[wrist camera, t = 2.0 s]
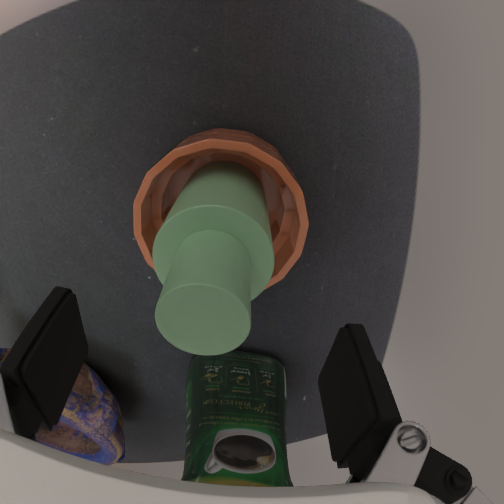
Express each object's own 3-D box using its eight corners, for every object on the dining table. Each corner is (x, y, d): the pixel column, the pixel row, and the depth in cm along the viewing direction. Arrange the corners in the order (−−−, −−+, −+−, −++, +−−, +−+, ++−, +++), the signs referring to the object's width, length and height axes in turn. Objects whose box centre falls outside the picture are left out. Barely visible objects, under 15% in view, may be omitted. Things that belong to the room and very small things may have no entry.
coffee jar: (186, 385, 32) (166, 546, 16) (193, 337, 28) (165, 538, 12) (272, 397, 33) (281, 552, 17) (294, 352, 29) (318, 542, 13)
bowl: (132, 427, 38) (119, 486, 29) (23, 383, 34) (-1, 435, 26) (146, 354, 30) (123, 439, 21) (2, 296, 26) (-44, 358, 17)
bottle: (186, 156, 20) (118, 243, 9) (271, 166, 20) (299, 265, 10) (180, 233, 22) (133, 362, 12) (258, 242, 23) (267, 379, 12)
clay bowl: (159, 121, 19) (134, 132, 15) (307, 139, 20) (325, 155, 15) (154, 250, 24) (136, 289, 19) (280, 266, 24) (287, 307, 20)
